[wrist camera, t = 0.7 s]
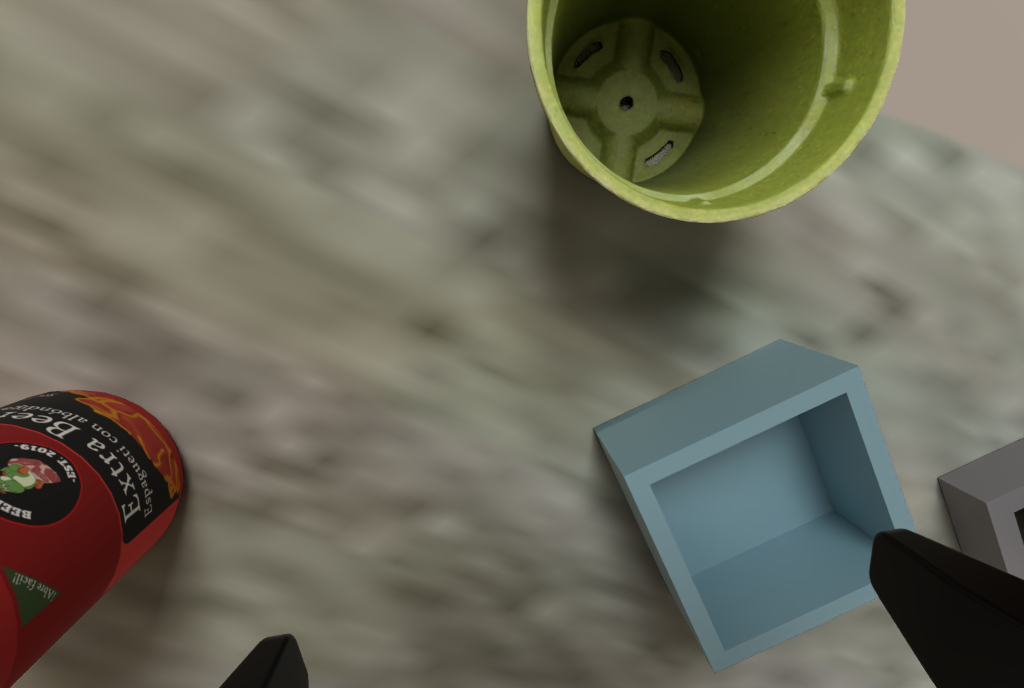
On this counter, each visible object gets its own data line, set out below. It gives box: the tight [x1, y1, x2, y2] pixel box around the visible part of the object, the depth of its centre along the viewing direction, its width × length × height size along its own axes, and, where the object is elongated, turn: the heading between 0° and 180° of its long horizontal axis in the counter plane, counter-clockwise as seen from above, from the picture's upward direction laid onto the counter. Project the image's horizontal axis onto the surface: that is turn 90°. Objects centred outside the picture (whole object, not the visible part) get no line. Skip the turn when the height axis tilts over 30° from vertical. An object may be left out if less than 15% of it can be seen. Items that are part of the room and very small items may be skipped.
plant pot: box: [526, 0, 906, 223], centre depth 18 cm, size 9×9×9 cm
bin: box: [593, 340, 916, 673], centre depth 23 cm, size 9×9×5 cm
